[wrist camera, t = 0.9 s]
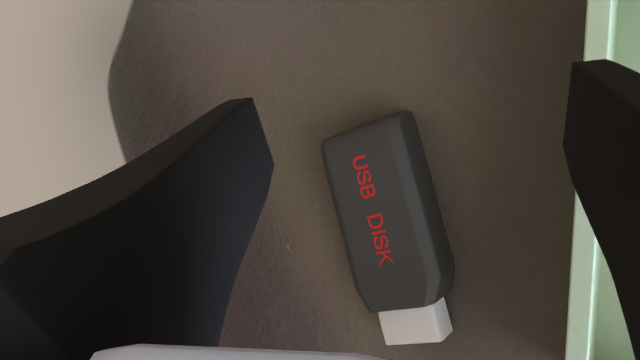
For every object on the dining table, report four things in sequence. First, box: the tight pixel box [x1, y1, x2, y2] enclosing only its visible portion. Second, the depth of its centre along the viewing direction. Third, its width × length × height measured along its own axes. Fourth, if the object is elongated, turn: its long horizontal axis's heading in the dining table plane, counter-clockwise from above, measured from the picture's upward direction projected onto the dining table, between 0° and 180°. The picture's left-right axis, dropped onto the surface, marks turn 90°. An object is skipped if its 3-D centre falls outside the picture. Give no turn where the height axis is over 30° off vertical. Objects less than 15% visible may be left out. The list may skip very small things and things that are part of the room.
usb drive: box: [321, 111, 455, 345], centre depth 26 cm, size 5×12×3 cm, turn 18°
